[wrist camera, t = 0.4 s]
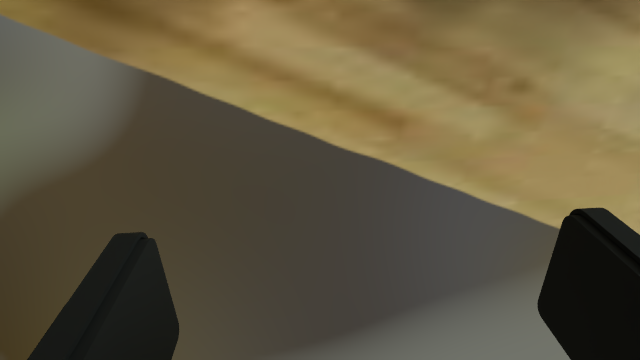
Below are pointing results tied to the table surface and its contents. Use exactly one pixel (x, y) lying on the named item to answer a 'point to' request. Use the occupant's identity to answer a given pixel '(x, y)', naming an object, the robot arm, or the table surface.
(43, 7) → the table surface
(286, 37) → the table surface
